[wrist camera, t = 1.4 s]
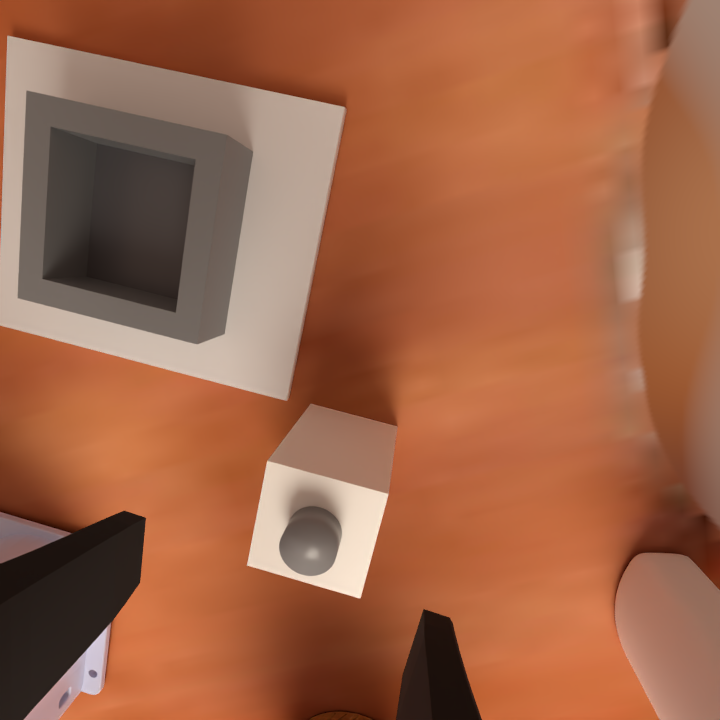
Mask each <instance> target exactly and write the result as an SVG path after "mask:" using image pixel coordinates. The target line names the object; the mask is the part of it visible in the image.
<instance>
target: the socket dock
mask: <svg viewBox="0 0 720 720" xmlns="http://www.w3.org/2000/svg"><path fill="white" fill-rule="evenodd" d="M346 111H347V110H346V108H345V107H342V106H338V105H333V104H328V103H323V102H319V101H314V100H309V99H305V98H300V97H295V96H290V95H286V94H281V93H276V92H272V91H267V90H262V89H257V88H253V87H248V86H243V85H238V84H234V83H229V82H224V81H220V80H215V79H210V78H205V77H201V76H196V75H191V74H187V73H182V72H177V71H172V70H168V69H163V68H158V67H154V66H149V65H144V64H139V63H135V62H130V61H125V60H120V59H116V58H111V57H106V56H102V55H97V54H92V53H87V52H83V51H78V50H73V49H69V48H64V47H59V46H54V45H50V44H45V43H40V42H36V41H31V40H26V39H21V38H17V37H12V36H7V63H6V94H5V124H4V155H3V185H2V216H1V246H0V325H1V326H4V327H8V328H12V329H16V330H20V331H23V332H27V333H31V334H35V335H39V336H42V337H46V338H50V339H54V340H57V341H61V342H65V343H69V344H73V345H76V346H80V347H84V348H88V349H92V350H95V351H99V352H103V353H107V354H111V355H114V356H118V357H122V358H126V359H130V360H133V361H137V362H141V363H145V364H148V365H152V366H156V367H160V368H164V369H167V370H171V371H175V372H179V373H183V374H186V375H190V376H194V377H198V378H202V379H205V380H209V381H213V382H217V383H221V384H224V385H228V386H232V387H236V388H240V389H243V390H247V391H251V392H255V393H258V394H262V395H266V396H270V397H274V398H277V399H281V400H285V401H287V400H288V399H289V397H290V392H291V387H292V382H293V377H294V371H295V366H296V361H297V356H298V351H299V346H300V341H301V336H302V331H303V326H304V321H305V316H306V311H307V306H308V301H309V296H310V291H311V286H312V281H313V276H314V271H315V266H316V261H317V256H318V251H319V246H320V241H321V236H322V231H323V226H324V221H325V216H326V211H327V206H328V201H329V196H330V191H331V186H332V181H333V176H334V171H335V166H336V161H337V156H338V151H339V146H340V141H341V136H342V131H343V126H344V121H345V116H346Z"/></svg>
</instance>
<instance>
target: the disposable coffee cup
mask: <svg viewBox="0 0 720 720" xmlns="http://www.w3.org/2000/svg"><path fill="white" fill-rule="evenodd" d="M309 720H372V719H370V718H368V717H365V716H362V715H359V714H356V713H349V712H328V713H323V714H320V715H317V716H315V717H312V718H311V719H309Z"/></svg>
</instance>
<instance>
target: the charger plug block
mask: <svg viewBox="0 0 720 720" xmlns="http://www.w3.org/2000/svg"><path fill="white" fill-rule="evenodd" d="M397 427H398V426H394V425H391V424H387V423H383V422H379V421H375V420H372V419H368V418H364V417H360V416H356V415H353V414H349V413H345V412H341V411H337V410H334V409H330V408H326V407H322V406H318V405H315V404H310V405H309V407H308V408H307V409H306V410H305V412H304V413H303V414H302V416H301V417H300V418H299V420H298V421H297V422H296V424H295V425H294V426H293V428H292V429H291V430H290V432H289V433H288V434H287V436H286V437H285V438H284V439H283V441H282V442H281V443H280V445H279V446H278V447H277V449H276V450H275V451H274V453H273V454H272V455H271V457H270V458H269V459H268V461H267V465H266V470H265V475H264V481H263V486H262V491H261V496H260V501H259V506H258V512H257V517H256V522H255V527H254V532H253V537H252V542H251V548H250V553H249V558H248V563H247V566H251V567H254V568H258V569H261V570H264V571H268V572H271V573H275V574H278V575H281V576H285V577H288V578H292V579H295V580H298V581H302V582H305V583H309V584H312V585H316V586H319V587H322V588H326V589H329V590H333V591H336V592H339V593H343V594H346V595H350V596H353V597H356V598H361V594H362V591H363V587H364V583H365V580H366V576H367V572H368V568H369V565H370V561H371V557H372V554H373V550H374V546H375V543H376V539H377V535H378V532H379V528H380V524H381V520H382V517H383V513H384V509H385V506H386V502H387V498H388V495H389V487H390V480H391V472H392V465H393V457H394V450H395V442H396V434H397Z"/></svg>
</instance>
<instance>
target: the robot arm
mask: <svg viewBox="0 0 720 720" xmlns="http://www.w3.org/2000/svg"><path fill="white" fill-rule="evenodd" d="M145 521H146V518H145V517H142V516H139V515H136V514H133V513H130V512H127V511H123V512H120V513H118V514H115V515H113V516H110V517H108V518H106V519H104V520H101V521H99V522H97V523H94V524H92V525H90V526H88V527H85V528H83V529H81V530H79V531H77V532H74V533H69V532H66V531H63V530H59V529H56V528H53V527H49V526H46V525H42V524H39V523H36V522H32V521H29V520H26V519H22V518H19V517H16V516H12V515H9V514H5V513H2V512H0V720H59V718H60V717H61V716H62V715H63V713H64V712H65V711H66V710H67V708H68V707H69V706H70V704H71V703H72V702H73V701H74V699H75V698H76V697H77V696H78V694H79V693H80V692H81V691H82V692H85V693H88V694H92V695H95V694H98V693H99V692H100V691H101V690H102V688H103V687H104V682H105V673H106V664H107V655H108V646H109V637H110V628H111V622H112V621H113V619H114V618H115V617H116V615H117V614H118V613H119V611H120V610H121V609H122V607H123V606H124V605H125V603H126V602H127V600H128V599H129V597H130V596H131V595H132V593H133V592H134V590H135V589H136V587H137V586H138V585H139V583H140V577H141V566H142V554H143V543H144V532H145ZM396 720H482V719H481V716H480V713H479V710H478V707H477V705H476V702H475V699H474V696H473V693H472V690H471V687H470V684H469V681H468V678H467V674H466V671H465V668H464V664H463V661H462V658H461V654H460V651H459V647H458V643H457V639H456V635H455V631H454V627H453V623H452V621H451V619H450V618H449V617H446V616H443V615H440V614H437V613H434V612H431V611H428V610H423V613H422V616H421V619H420V622H419V625H418V629H417V632H416V635H415V638H414V641H413V644H412V647H411V650H410V654H409V657H408V660H407V663H406V666H405V669H404V672H403V677H402V683H401V690H400V697H399V703H398V710H397V717H396Z"/></svg>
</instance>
